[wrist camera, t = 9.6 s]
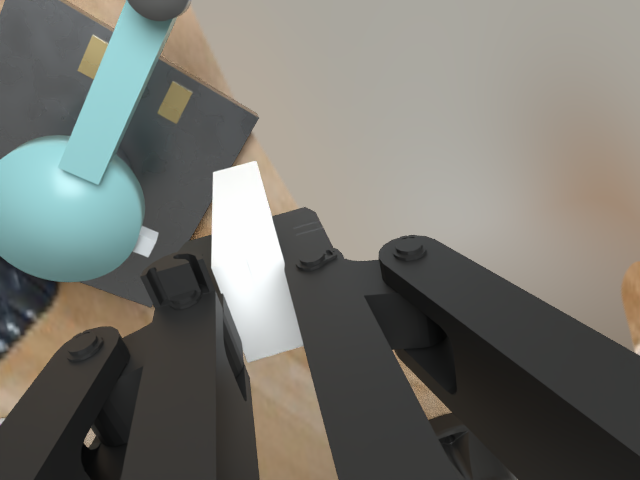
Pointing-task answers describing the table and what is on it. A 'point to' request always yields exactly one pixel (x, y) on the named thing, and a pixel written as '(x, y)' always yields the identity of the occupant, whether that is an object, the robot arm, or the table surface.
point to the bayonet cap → (87, 166)
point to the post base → (143, 130)
